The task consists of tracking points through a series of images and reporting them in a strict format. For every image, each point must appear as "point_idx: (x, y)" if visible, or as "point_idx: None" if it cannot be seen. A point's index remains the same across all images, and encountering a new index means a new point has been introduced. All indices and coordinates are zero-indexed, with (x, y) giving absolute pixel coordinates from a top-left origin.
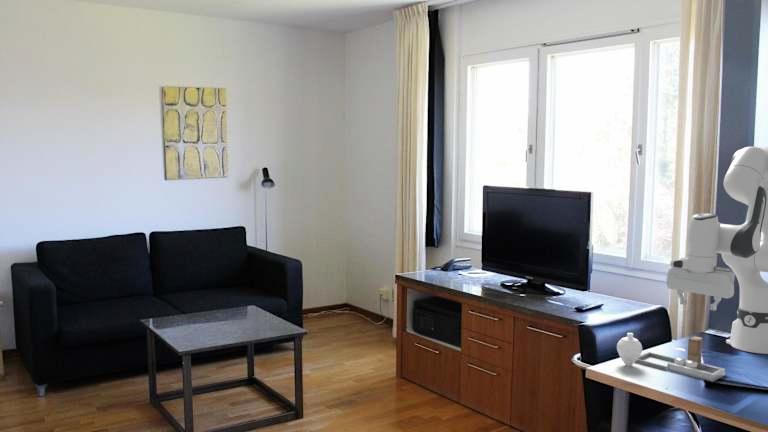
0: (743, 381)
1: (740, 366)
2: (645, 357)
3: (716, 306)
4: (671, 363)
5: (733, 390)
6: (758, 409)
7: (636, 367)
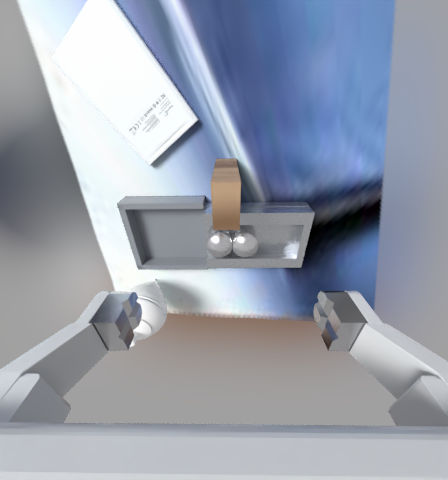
0: (343, 177)
1: (323, 14)
2: (133, 227)
3: (369, 312)
4: (212, 262)
5: (330, 245)
6: (371, 291)
7: None
